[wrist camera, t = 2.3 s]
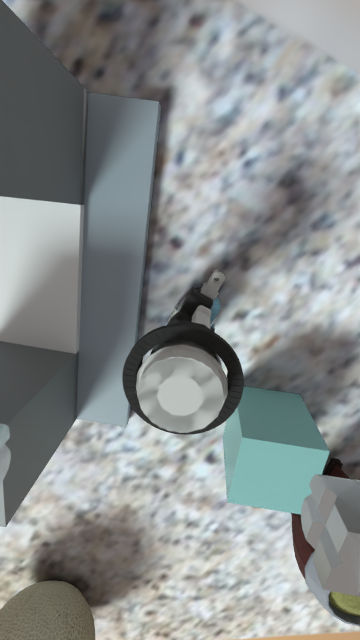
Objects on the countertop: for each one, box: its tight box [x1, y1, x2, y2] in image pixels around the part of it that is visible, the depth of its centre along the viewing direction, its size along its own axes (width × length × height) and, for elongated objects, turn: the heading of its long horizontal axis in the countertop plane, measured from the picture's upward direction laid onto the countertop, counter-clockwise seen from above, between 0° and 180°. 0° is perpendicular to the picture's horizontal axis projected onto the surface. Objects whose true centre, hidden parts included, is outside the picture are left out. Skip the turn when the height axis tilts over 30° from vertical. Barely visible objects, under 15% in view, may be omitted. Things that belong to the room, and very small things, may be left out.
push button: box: [122, 270, 244, 434], centre depth 17 cm, size 7×5×10 cm
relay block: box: [223, 386, 330, 514], centre depth 21 cm, size 5×5×6 cm
